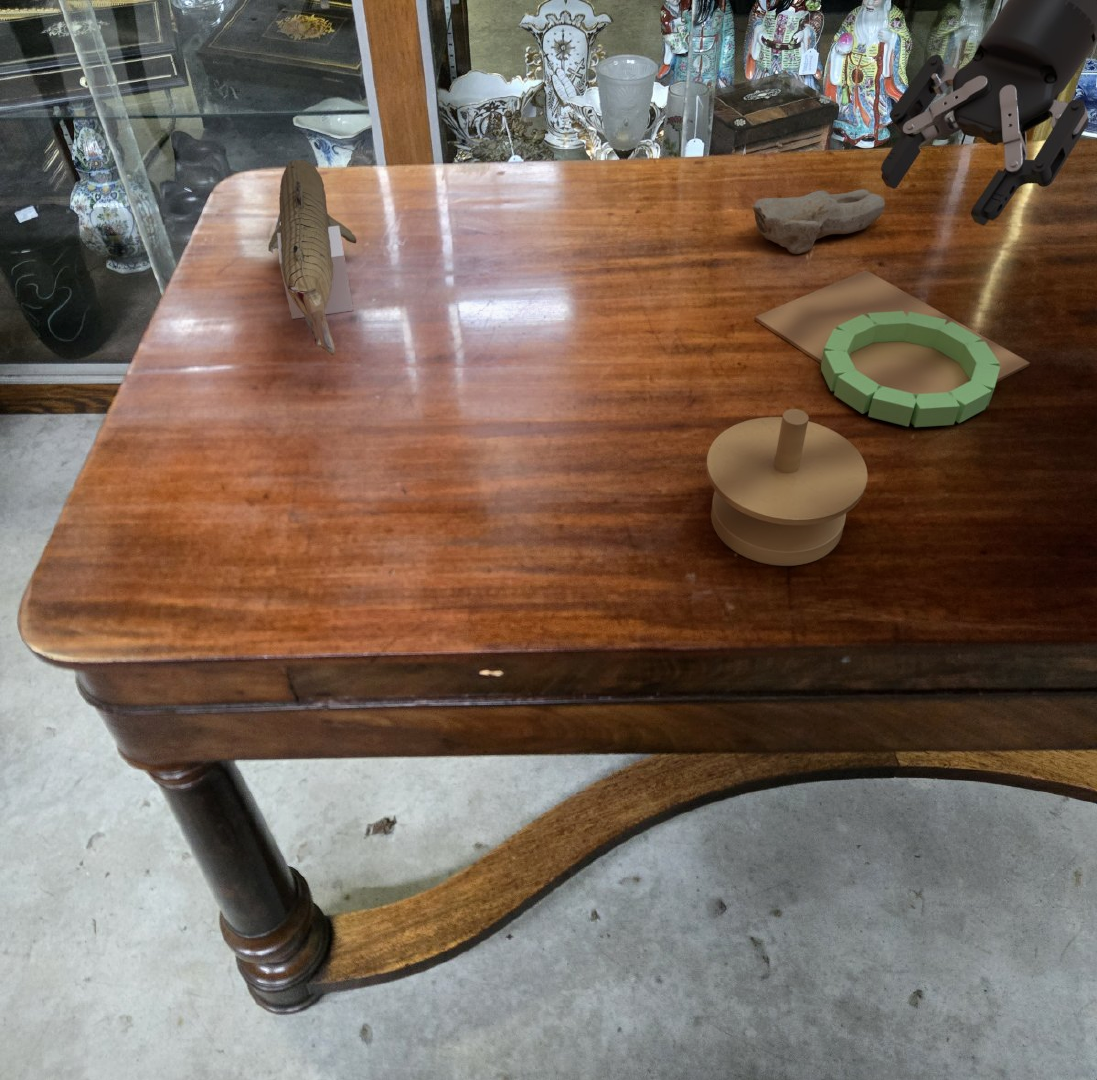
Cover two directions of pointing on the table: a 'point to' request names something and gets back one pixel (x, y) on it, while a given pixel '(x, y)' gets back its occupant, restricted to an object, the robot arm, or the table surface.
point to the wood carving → (311, 251)
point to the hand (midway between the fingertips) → (930, 201)
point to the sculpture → (815, 217)
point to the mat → (881, 361)
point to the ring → (899, 403)
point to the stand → (783, 488)
